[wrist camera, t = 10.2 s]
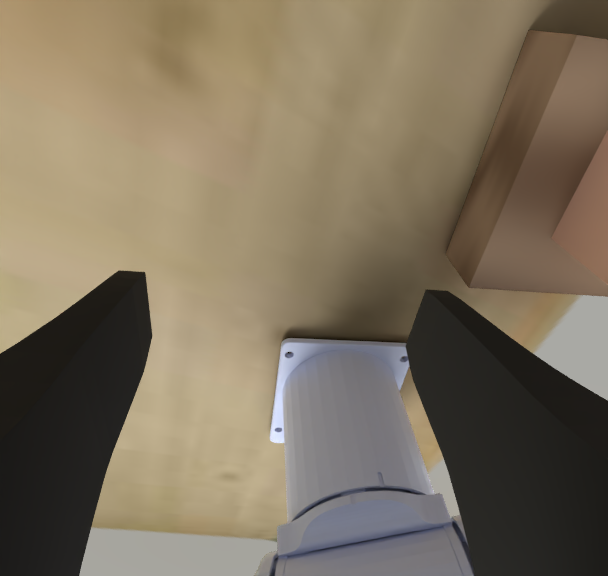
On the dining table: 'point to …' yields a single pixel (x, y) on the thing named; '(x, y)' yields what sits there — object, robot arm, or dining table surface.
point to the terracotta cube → (589, 217)
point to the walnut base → (535, 170)
